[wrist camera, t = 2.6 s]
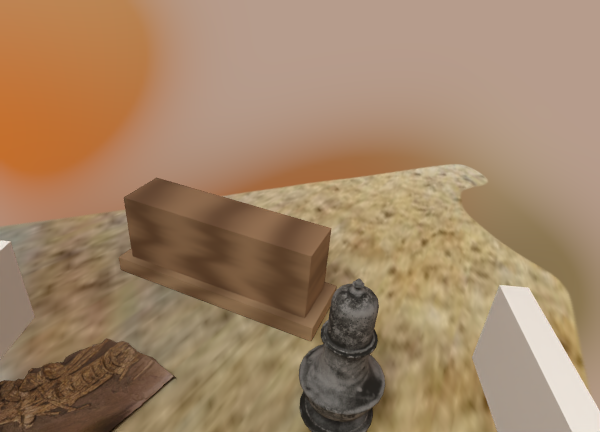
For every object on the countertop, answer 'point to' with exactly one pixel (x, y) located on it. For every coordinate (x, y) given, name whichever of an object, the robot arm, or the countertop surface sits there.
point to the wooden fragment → (81, 391)
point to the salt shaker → (343, 365)
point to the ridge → (230, 255)
